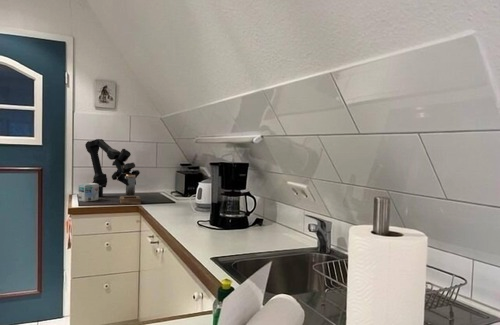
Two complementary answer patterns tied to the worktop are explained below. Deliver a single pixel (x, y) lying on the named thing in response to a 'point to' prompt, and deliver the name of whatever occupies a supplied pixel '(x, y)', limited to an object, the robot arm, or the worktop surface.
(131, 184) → the canister
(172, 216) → the worktop surface
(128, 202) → the holder
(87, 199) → the light bulb box
